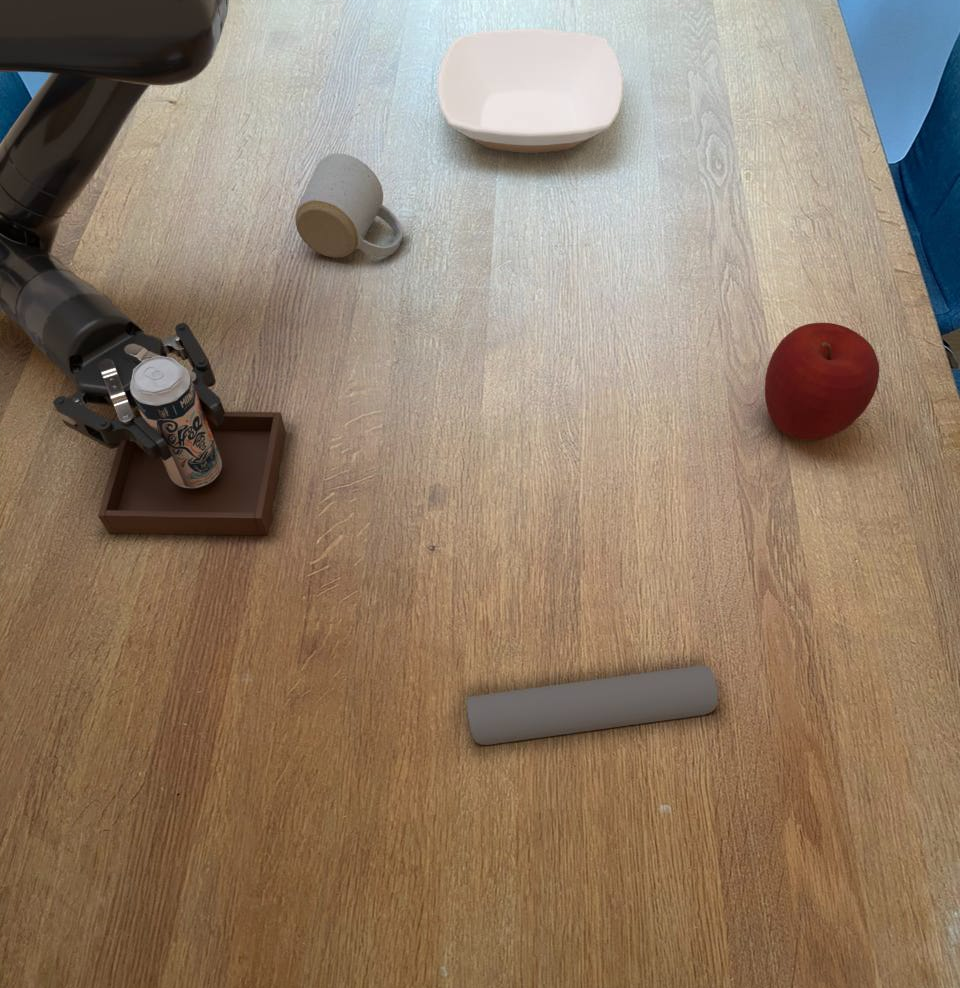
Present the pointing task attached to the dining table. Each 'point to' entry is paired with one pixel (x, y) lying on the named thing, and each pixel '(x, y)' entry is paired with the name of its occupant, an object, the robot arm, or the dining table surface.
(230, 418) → the serving tray
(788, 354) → the apple
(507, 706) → the half round rod
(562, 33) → the bowl
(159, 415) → the beer can
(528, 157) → the dining table surface
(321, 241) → the ceramic mug
